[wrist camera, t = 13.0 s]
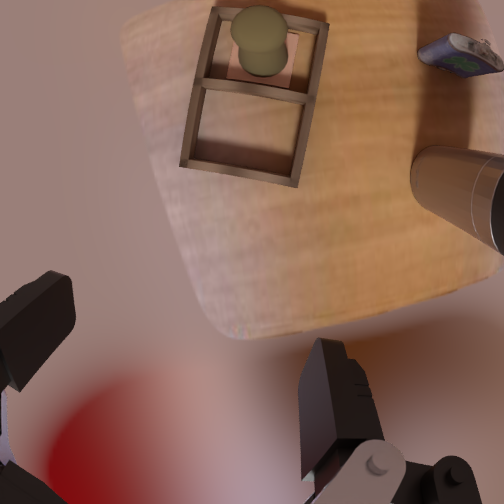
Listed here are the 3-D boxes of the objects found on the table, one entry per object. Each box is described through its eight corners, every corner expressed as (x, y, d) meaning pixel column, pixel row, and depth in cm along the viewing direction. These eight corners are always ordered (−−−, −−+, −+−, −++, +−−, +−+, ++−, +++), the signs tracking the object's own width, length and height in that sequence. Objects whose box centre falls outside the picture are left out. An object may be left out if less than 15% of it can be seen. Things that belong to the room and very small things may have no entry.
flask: (416, 61, 28) (458, 42, 18) (415, 43, 27) (455, 20, 17) (468, 81, 27) (515, 73, 17) (468, 64, 26) (512, 52, 16)
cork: (238, 35, 29) (223, -2, 19) (287, 35, 28) (292, -4, 18) (238, 78, 31) (223, 53, 21) (289, 78, 31) (294, 52, 20)
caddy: (326, 30, 28) (329, 23, 25) (295, 185, 36) (297, 188, 33) (215, 13, 28) (212, 6, 26) (185, 165, 36) (179, 166, 33)
